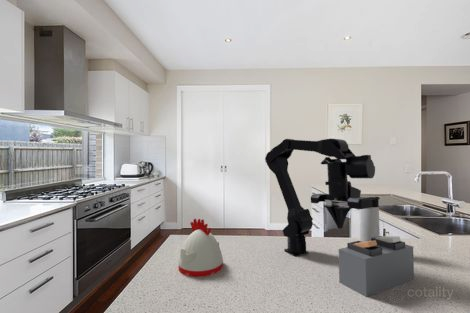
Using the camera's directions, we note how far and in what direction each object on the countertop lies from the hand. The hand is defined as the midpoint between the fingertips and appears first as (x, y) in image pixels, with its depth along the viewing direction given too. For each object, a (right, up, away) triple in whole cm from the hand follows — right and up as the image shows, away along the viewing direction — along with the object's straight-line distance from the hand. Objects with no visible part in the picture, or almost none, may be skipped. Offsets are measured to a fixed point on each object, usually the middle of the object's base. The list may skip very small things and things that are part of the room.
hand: (340, 228), depth 77 cm
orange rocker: (+2, -1, -11) cm, 11 cm away
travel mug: (+16, -13, +12) cm, 24 cm away
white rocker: (+11, -1, -7) cm, 13 cm away
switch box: (+6, -12, -9) cm, 16 cm away
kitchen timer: (-44, -13, +1) cm, 46 cm away
